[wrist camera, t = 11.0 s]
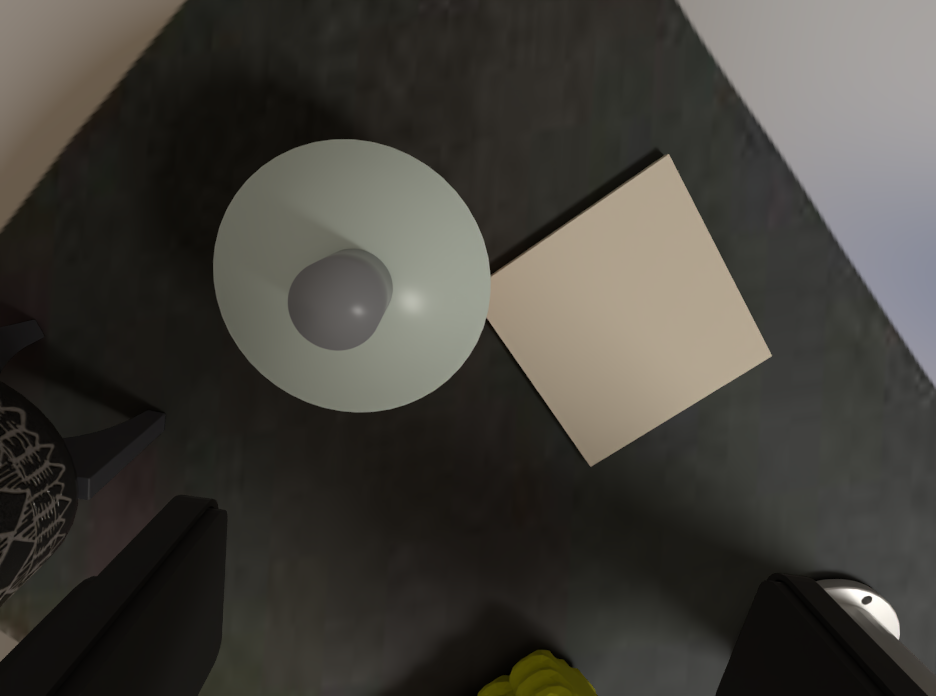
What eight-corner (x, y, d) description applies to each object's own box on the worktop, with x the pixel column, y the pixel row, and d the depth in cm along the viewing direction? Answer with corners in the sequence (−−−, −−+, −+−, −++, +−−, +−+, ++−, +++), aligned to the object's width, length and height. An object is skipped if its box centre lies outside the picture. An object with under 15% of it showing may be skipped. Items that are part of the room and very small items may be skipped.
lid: (538, 315, 25) (562, 344, 20) (337, 449, 26) (313, 507, 21) (382, 78, 21) (363, 41, 16) (161, 250, 23) (83, 264, 18)
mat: (766, 353, 32) (772, 356, 32) (588, 462, 34) (590, 466, 34) (664, 155, 28) (668, 154, 28) (468, 290, 30) (468, 292, 30)
